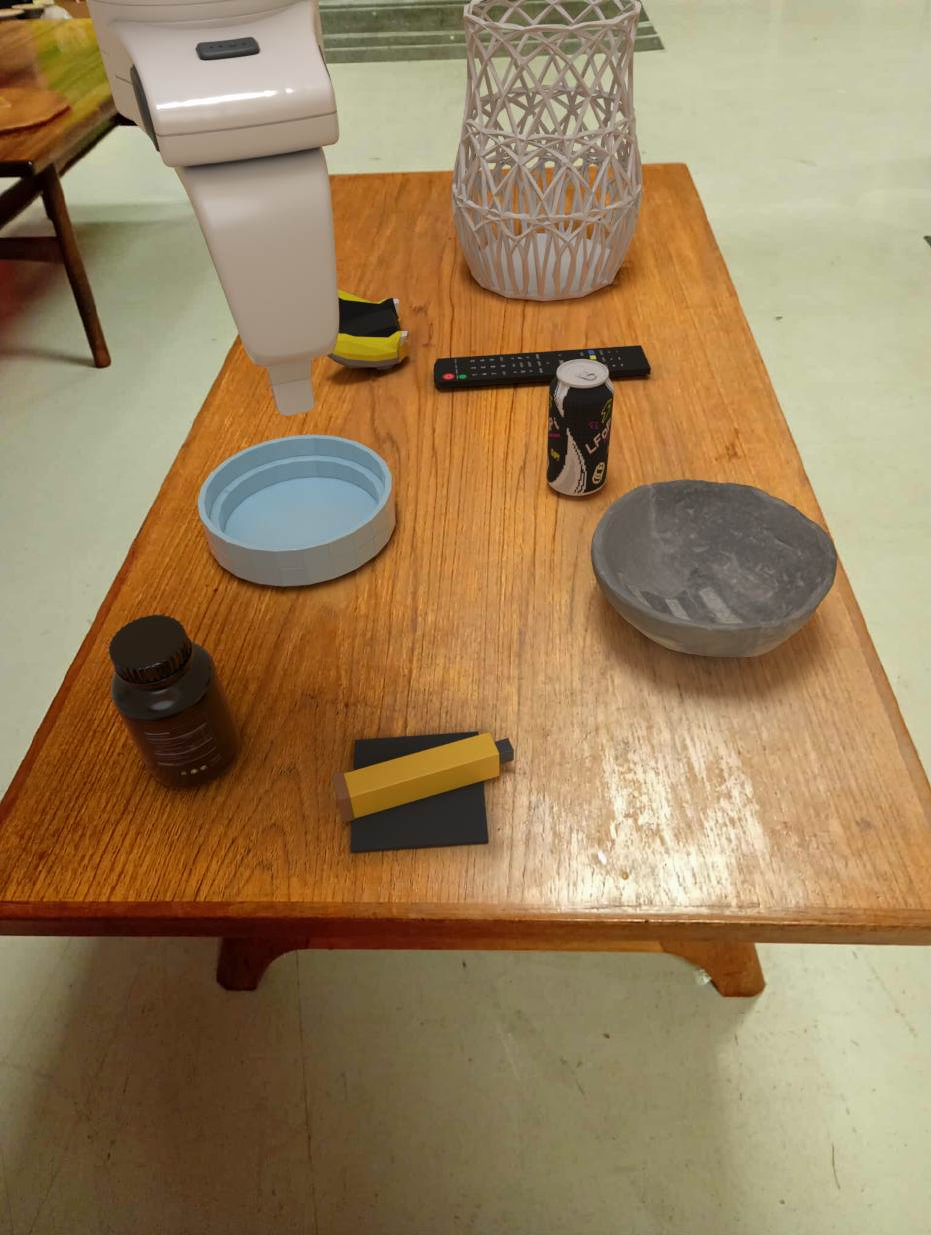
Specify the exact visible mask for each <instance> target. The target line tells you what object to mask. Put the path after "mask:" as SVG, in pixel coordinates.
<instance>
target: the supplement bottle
mask: <svg viewBox="0 0 931 1235" xmlns="http://www.w3.org/2000/svg"><path fill="white" fill-rule="evenodd" d="M108 656H109V658H110V661H111V663H112V665H113V669H114V674H113V676H112V679H111V684H110V696H111V699H112V702H113V705H114V707H115V709H116V711H117V713H118V714H119V717H120V718H121V720H122V722H123V724H124V726H125V728H126V730H127V732H128V734H129V736H130V738H131V740H132V742H133V744H134V746H135V748H136V749H137V752H138V753H139V755H140V757H141V759H142V761H143V763H144V765H145V767H146V768H147V770H148V772H149V774H150V775H151V776H152V777H153V778H154V780H156V781H157V782H158V783H160V784H161V785H163V786H165V787H168V788H172V789H177V790H178V789H179V790H189V789H196V788H201V787H205V786H207V785H209V784H211V783H213V782H214V781H216V780H218V779H219V778H221V777H222V776H223V775H225V773H227V772H228V771H229V770H230V769H231V768H232V766H233V765H234V764H235V762H236V759H237V758H238V757H239V754H240V751H241V745H242V737H241V732H240V729H239V726H238V722H237V719H236V717H235V714H234V711H233V709H232V706H231V703H230V700H229V698H228V695H227V692H226V689H225V687H224V684H223V682H222V678H221V676H220V673H219V670H218V668H217V665H216V662H215V660H214V658H213V657H212V656H211V654H210V653H209V651H208V650H207V649H206V648H204V647H203V646H202V645H200V644H198V643H196V642H194V641H192V640H191V638H190V637H189V636H188V632H187V631H186V629H185V627H184V625H183V624H182V623H181V622H180V621H179V620H177V619H176V618H175V617H171V616H169V615H165V614H153V615H150V614H148V615H145V616H140V617H138V618H136V619H132V621H130V622H128V623H126V624H125V625H124V626H121V627H120V628H119V630H117V631H116V632H115V635H113V636H112V637H111V640H110V642H109V646H108Z"/></svg>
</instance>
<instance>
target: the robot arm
mask: <svg viewBox="0 0 931 1235" xmlns="http://www.w3.org/2000/svg"><path fill="white" fill-rule="evenodd" d="M85 3H86V6H87V10H88V13H89V16H90V17H89V18H90V21H91V25H92V26H93V27H92V28H93V31H94V35H95V38H96V42H97V45H98V49H99V52H100V56H101V60H102V63H103V68H104V70H105V74H106V77H107V80H108V84H109V88H110V91H111V95H112V99H113V103H114V106H115V109H116V110H117V112H118V113H119V114H120V115H121V116H123V117H124V118H125V119H128V120H130V121H133V122H134V123H135V124H136V126H138V128H139V129H140V130H142V132H144V134H146V135H147V137H149V139H150V140H151V142H152V144H153V146H154V148H155V150H156V152H158V153H159V155H160V158H161V161H162V163H163V164H164V165H165V166H166V167H168V168H172V169H173V170H174V172H175V173H176V175H177V177H178V180H179V181H180V182H181V184H182V187H183V188H184V190H185V192H186V195H187V197H188V199H189V202H190V204H191V206H192V209H193V211H194V214H195V217H196V219H197V222H198V224H199V227H200V230H201V232H202V236H203V238H204V241H205V244H206V247H207V250H208V252H209V256H210V258H211V260H212V263H213V266H214V269H215V272H216V275H217V277H218V281H219V283H220V286H221V289H222V291H223V294H224V297H225V301H226V302H227V305H228V308H229V311H230V313H231V317H232V319H233V323H234V325H235V327H236V330H237V332H238V335H239V337H240V341H241V342H242V345H243V347H244V349H245V352H246V354H247V356H248V358H249V359H250V361H251V363H253V364H254V366H256V367H259V368H266V370H267V375H268V380H269V384H270V389H271V394H272V397H273V401H274V405H275V407H276V410H277V412H278V413H279V414H280V415H281V416H284V417H290V416H295V415H300V414H305V413H309V412H311V411H312V410H313V409H314V408H315V404H316V401H315V396H314V388H313V383H312V366H313V365H312V364H313V360H314V359H319V358H323V357H327V355H329V354H331V353H332V352H333V351H334V349H335V346H336V343H337V338H338V334H339V333H338V332H339V300H338V289H339V284H338V267H337V254H336V253H337V252H336V240H335V227H334V226H335V224H334V214H333V200H332V189H331V183H330V175H329V169H328V163H327V158H326V154H325V151H324V149H323V147H329V146H332V145H336V144H337V143H338V141H339V139H340V124H339V114H338V106H337V100H336V93H335V90H334V86H333V82H332V79H331V75H330V71H329V69H328V67H327V59H326V58H327V57H326V52H325V51H326V50H325V43H324V34H323V27H322V19H321V12H320V11H321V10H320V4H319V0H85Z"/></svg>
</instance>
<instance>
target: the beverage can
mask: <svg viewBox="0 0 931 1235" xmlns="http://www.w3.org/2000/svg"><path fill="white" fill-rule="evenodd" d="M608 376H609V372H608V369H607V368H606V366H604V365H603V364H601V363H599V362H597V361H593V360H587V359H577V360H571V361H567V362H565V363H563V364H562V365H560V366H559V367H558V369H557V375H556V376H555V378H554V379H553V380H552V381H550V384H549V388H548V410H547V412H548V413H547V414H548V415H547V441H546V442H547V444H546V445H547V448H546V474H545V476H546V477H545V478H546V481H547V483H548V485H549V486H550V487H551V488H552V489H554V490H555V491H556V492H559V493H560V494H564V495H566V496H572V497H583V496H586V495H591V494H593V493H596V492H597V491H599V490H601V489H602V488H603V487H604V486H605V484H606V481H607V475H608V464H609V454H610V444H611V431H612V421H613V420H612V419H613V411H614V410H613V408H614V400H615V399H614V398H615V386H614V382H613V381H612V379H610V378H611V377H608Z"/></svg>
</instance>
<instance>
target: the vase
mask: <svg viewBox="0 0 931 1235" xmlns="http://www.w3.org/2000/svg"><path fill="white" fill-rule="evenodd" d="M541 1H542V2H544V3H548V4H549V5H548V6H547V7H546V8H544V10H542V11H541V12H540V13H539V14H538V15H537V16H536V17H535V18H533V19H532V18H531V17H530V16H529V15H528V14H527V13H526V12H525V11H523V9H522V8H521V7H520V6H522V5H523V4H524V3H526V2H528V0H515V1H514V2H512V1H510V0H471V1H470V3H468V4H465V5H463V16H462V18H463V25H464V36H465V37H464V38H465V45H466V46H465V47H466V90H465V100H464V109H463V118H462V125H461V132H460V140H459V144H458V147H457V152H456V157H455V162H454V166H453V174H452V184H451V207H452V215H453V221H454V222H453V223H454V230H455V233H456V235H457V238H458V242H459V246H460V248H461V251H462V254H463V257H464V258H465V261H466V264H467V267H468V268H469V270H470V275H471V276H472V277H473V278H474V280H475V281H476V282H477V283H478V285H479V286H480V287H481V288H483V289H486V290H488V291H490V292H492V293H495V294H497V295H500V296H502V297H504V298H507V299H515V300H516V299H517V300H526V301H536V302H552V301H561V300H570V299H579V298H584V297H585V296H587V295H588V296H589V295H590V294H592V293H594V292H597V291H598V290H600V289H602V288H605V287H607V286H609V285H612V283H613V281H614V280H615V277H616V275H617V273H618V271H619V269H620V267H621V266H622V265H623V263H624V261H625V258H626V255H627V253H628V251H629V249H630V246H631V243H632V241H633V239H634V236H635V234H636V232H637V228H638V222H639V217H640V210H641V206H642V201H643V165H642V158H641V153H640V150H639V143H638V142H639V141H638V136H637V132H636V131H637V118H636V114H635V112H636V109H635V107H634V48H635V47H634V46H635V42H636V41H635V40H636V36H637V31H638V27H639V22H640V15H641V14H640V13H641V10H642V3H641V2H640V1H638V0H624V2H627V3H628V4H627V5H626V6H625V7H624V5H623V4H622V2H621V0H612V2H613V3H614V4H615V5H616V7H617V8H619V9H620V12H618V14H617V15H616V16H614V17H613V18H608V19H606V18H605V15H604V14H603V12H602V10H601V8H600V6H602V5H604V4H606V3H608V2H610V1H611V0H594V1H593V0H582V1H583V2H585V3H587V4H588V5H587V7H586V8H585V9H583V11H581V13H580V14H579V15H578V16H577V17H575V19H573V18H572V17H571V16H570V14H569V13H568V12H567V11H566V10H565V9H564V7H563V6H562V3H564V2H566V0H541ZM496 3H497V4H500V5H502V6H504V7H506V8H508V9H507V10H506V11H505V13H504V14H503V15H502V17H501V19H500V20H499V22H498V21H493V19H492V18H491V17H490V16H489V15H488V14H487V12H488V11H489V10H491V8H492V7H493V6H494V5H495V4H496ZM482 4H485V5H484V7H483V9H481V8H480V7H479V5H482ZM553 9H554V10H555V11H557V12H558V13H559V15H560V16H561V17H562V18H563V19H564V20H565V21H566V22H567V23H568V25H566V24H562V23H559V24H558V23H557V24H540V23H541V22H542V21H543V20H544V19H545V18H546V16H548V15H549V14H550V13H551V12H552V10H553ZM632 9H633V10H632ZM630 10H631V11H630ZM592 11H593V12H594V14H595V15H596V16H597V18H598V19H599V20H594V21H586V22H581V21H582V20H583V19H584V18H585V17H586V16H587V15H588V14H590V13H591V12H592ZM473 12H474V13H475V14H477V15H478V16H475V15H473ZM514 12H516V13H517V14H518V15H519V16H520V18H522V19H523V20H524V22H526V24H527V25H528V26H522V25H520V24H516V23H511V22H509V23H508V20H509V19H510V18H511V17H512V16H513V14H514ZM623 23H624V24H623ZM594 28H595V29H597V28H600V29H599V30H598V31H597V32H596V33H595V34H594V35H593V34H591V33H590V32H589V31H586V30H587V29H594ZM613 28H616V29H618V30H620V31H621V32H620V34H618V37H617V38H616V40H615V38H614V34H613V30H612V29H613ZM502 30H505V31H510V32H508V33H506V34H504V33H503V31H502ZM483 31H488V32H489V34H490V35H491V38H490V40H489V44H488V47H487V50H486V48H485V47H484V44H483V43H482V42H481V40H480V38H479V34H480V33H482V32H483ZM544 32H545V33H546V32H549V33H550V32H551V33H553V32H554V33H555V34H554V35H551V36H550V37H548V38H547V37H545V36H544V35H543V33H544ZM557 32H558V33H557ZM571 33H572V34H575V37H576V38H577V40H578V41H579V44H580V46H581V47H580V48H578V49H577V51H576V52H575V53H574V54H573V55H572V56H571V57H569V56H568V55H567V54H565V52H563V51H562V49H561V47H562V45H563V44H564V43H565V42H566V39H567V38H568V37H569V35H571ZM522 35H523V37H522V38H521V39H520V40H521V41H520V42H519V43H518V46H517V48H515V46H514V45H513V44H512V43H511V42H510V41H511V40H513V39H515V38H517V37H519V36H522ZM529 37H531V38H534V39H536V40H538V41H540V44H539V45H538V46H537V47H536V48H535V49H534V50H532V52H531V53H530V54H528V55H527V56H526V57H525V58H524V57H523V56H522V54H520V53H521V51H522V49H523V48H524V46H525V44H526V42H527V40H528V39H529ZM606 37H608V41H609V44H610V50H609V49H608V48H607V47H606V46H605V45H604V44H603V42H604V41H605V39H606ZM624 38H625V40H624V43H623V46H622V49H621V52H620V54H619V51H618V48H619V47H620V45H621V43H622V41H623V39H624ZM555 42H557V43H556V44H555ZM592 45H593V47H592V48H591V50H590V47H591V46H592ZM502 47H504V49H505V50H506V52H507V54H508V55H509V58H510V61H509V62H508V65H507V68H506V70H505V72H504V75H503V78H502V80H501V79H500V77H499V75H498V72H497V70H496V67H495V65H494V63H493V60H492V58H493V57H495V55H497V53H498V52H499V51H500V50H501V49H502ZM599 50H600V51H601V52H602V53H603V55H605V59H604V60H603V62H602V63H601V66H600V67H599V69H598V68H597V64H596V62H595V56H596V54H597V53H598V51H599ZM544 51H546V52H547V54H548V55H549V56H548V58H547V59H546V62H545V64H544V66H543V68H542V70H541V72H540V74H539V76H538V78H537V77H536V75H535V74H534V72H533V71H532V69H531V67H530V66H529V64H530V63H531V62H532V61H534V59H536V58H537V57H538V56H539V55H540V54H541V53H543V52H544ZM583 54H586V56H587V58H586V60H585V63H584V65H583V68H582V69H581V72H579V71H578V69H577V67H576V65H575V64H574V62H575V61H576V60H577V59H578V58H580V57H581V55H583ZM475 55H476V56H477V58H478V61H479V63H480V70H479V71H478V72H479V73H478V72H477V67H476V60H475V57H476V56H475ZM556 56H557V57H558V58H559V59H560V60H561V61H562V62H563V63H564V66H563V67H562V68H561V65H560V63H559V61H558V59H557V57H556ZM613 58H614V61H613ZM614 62H615V63H614ZM552 63H553V66H554V68H555V70H556V73H557V76H556V78H555V80H554V81H553V83H552V84H543V81H544V79H545V77H546V75H547V73H548V71H549V69H550V67H551V64H552ZM590 66H591V69H592V73H593V75H594V79H593V81H592V83H591V85H590V87H589V86H588V85H587V83H586V80H584V78H585V77H586V75H587V72H588V69H589V67H590ZM608 66H609V69H610V71H611V74H612V79H611V80H612V81H611V84H610V87H609V90H608V91H605V89H604V86H603V84H602V80H601V79H602V78H603V76H604V74H605V72H606V70H607V69H608ZM513 67H514V69H515V72H514V74H513V75H512V77H511V79H510V80H509V82H508V78H509V76H510V74H511V72H512V69H513ZM488 68H489V70H488ZM489 71H490V73H491V75H492V78H493V80H494V82H495V85H496V87H497V92H495V93H494V91H493V86H492V83H491V79H490V75H489ZM524 71H525V72H526V73H527V75H528V77H529V78H530V79H531V81H532V83H533V85H534V86H532V87H529V85H528V83H527V80H526V78H525V76H524ZM569 71H570V72H571V74H572V76H573V78H574V79H575V81H576V83H575V85H574V86H571V85H570V86H569V84H568V81H567V79H566V77H565V76H566V74H567V73H568V72H569ZM626 75H627V83H626V80H625V78H626ZM483 79H484V81H485V85H486V89H487V94H484V95H482V96H481V90H480V89H481V86H482V82H483ZM518 81H520V84H521V86H516V87H515V85H516V83H517V82H518ZM507 82H508V83H507ZM506 84H507V85H506ZM615 89H616V91H615ZM510 95H512V96H510ZM537 95H539V96H541V98H540V100H538V101H537V102H535V101H536V98H537ZM565 95H566V98H567V102H565V101H564V100H562V99H561V98H559V97H560V96H565ZM524 96H525V100H526V104H525V103H524V102H522V101H520V98H522V97H524ZM578 96H579V97H581V98H583V99H582V100H581V101H578V102H577V98H578ZM601 99H602V100H603V105H604V106H603V105H602V104H601V103H600V102H599V101H598V100H601ZM551 100H553V101H554V102H555V103H557V104H558V105H559V106H560V107H562V108H564V109H565V110H566V113H565V114H564V115H563V117H562V118H561V119H560V121H559V120H558V118H557V115H556V113H555V110H554V107H553V105H552V102H551ZM576 102H577V103H576ZM511 104H513V105H514V106H516V107H518V108H520V109H521V110H522V111H525V112H524V114H523V115H522V117H521V118H520V119H519V121H518V122H517V123H516V120H515V117H514V114H513V111H512V107H511ZM612 104H613V105H612ZM488 105H489V108H490V110H488V109H487V108H486V107H487V106H488ZM589 105H590V108H591V110H592V112H593V114H594V117H595V119H596V121H597V124H598V127H597V128H596V129H590V130H589V128H588V126H587V125H586V123H585V122H584V118H585V115H586V112H587V109H588V107H589ZM611 108H612V109H611ZM579 109H580V111H579V112H578V110H579ZM503 110H505V111H506V115H507V118H508V122H509V125H510V128H511V131H507V130H505V129H504V128H503V126H502V125H501V123H500V122H499V120H498V117H499V115H500V113H501V112H502V111H503ZM536 110H537V111H536ZM545 110H546V111H547V113H548V115H549V117H550V120H551V122H552V124H553V126H554V128H553V129H552V130H551V131H550V130H549V128H548V127H547V126H546V124H545V123H544V122H543V120H542V117H543V114H544V112H545ZM598 110H599V111H600V113H602V114H603V115H604V117H603V119H602V118H601V115H600V113H599V111H598ZM619 112H620V114H621V115H622V117H623V118H621V119H620V120H618V121H616V119H617V115H618V113H619ZM484 116H485V117H487V120H486V122H485V123H484ZM531 116H532V121H531V123H530V125H529V127H528V129H527V131H526V133H525V134H524V130H525V127H526V124H527V121H528V119H529V117H531ZM572 116H573V118H574V121H575V126H574V128H573V131H572V134H567V133H568V132H567V131H568V129H569V128H568V127H569V124H570V120H571V117H572ZM477 119H478V122H477V121H476V120H477ZM620 127H622V128H621V129H619V128H620ZM473 128H474V129H475V130H474V129H473ZM540 128H541V130H542V131H543V134H542V133H541V132H540V131H541V130H540ZM499 137H500V138H501V137H502V139H503V140H500V138H499ZM585 138H587V139H585ZM600 139H601V140H600ZM489 140H491V141H493V142H494V144H493V145H491V146H490V147H488V148H487V145H488V143H489ZM542 141H545V142H544V144H543V142H542ZM598 141H600V145H598V144H597V142H598ZM613 142H614V143H613ZM575 144H577V145H581V147H580V148H579V149H578V150H574V146H575ZM512 145H514V147H513V146H512ZM529 146H532V147H535V148H536V149H531V150H527V149H528V148H529ZM592 150H593V151H592ZM494 152H495V154H494V155H492V154H493V153H494ZM490 155H491V156H490ZM487 156H488V157H487ZM486 157H487V158H486ZM535 158H538V159H537V160H536V162H535V163H534V164H533V165H532V166H531V167H530V168H528V167H527V165H526V164H528V163H529V162H532V160H534V159H535ZM579 159H582V163H581V165H580V166H578V167H577V168H576V166H575V165H574V164H575V163H576V162H577V161H578V160H579ZM548 162H551V163H554V165H553V172H552V178H551V183H550V184H549V185H547V174H546V173H547V172H546V164H545V163H548ZM489 164H495V165H494V167H493V169H492V171H491V169H490V167H489ZM506 165H507V166H510V170H509V172H507V174H506V176H504V173H503V168H504V167H505V166H506ZM591 165H594V166H595V167H597V170H596V174H595V178H594V182H593V186H592V189H591V187H590V166H591ZM610 169H611V172H612V175H613V177H612V178H611V177H610V176H609V172H610ZM480 171H481V172H480ZM534 172H535V173H534ZM533 173H534V176H533V175H532V174H533ZM540 174H541V181H542V182H541V183H542V190H541V188H540V187H539V185H538V183H539V178H540ZM566 174H567V178H566ZM565 178H566V179H565ZM571 182H572V186H573V191H574V194H573V198H572V205H571V210H570V214H568V215H567V214H565V211H566V191H567V189H568V187H569V186H570V183H571ZM498 183H499V185H498ZM515 184H516V187H517V188H516V189H517V209H518V210H517V211H518V213H516V212H515V213H514V208H513V202H514V201H513V200H514V186H515ZM613 184H614V185H613ZM506 186H507V188H506ZM581 187H583V189H584V200H583V196H582V191H581ZM599 188H600V198H599V200H598V199H597V194H598V189H599ZM472 191H473V193H472ZM488 192H489V193H490V194H491V195H492V196H491V197H492V198H491V199H490V202H488V201H489V200H488ZM524 193H525V194H524ZM472 194H473V195H472ZM608 194H609V200H610V203H609V205H606V197H607V195H608ZM499 195H501V200H502V205H501V202H500V199H499ZM479 199H480V202H481V205H480V204H479ZM538 199H539V202H538ZM616 199H617V202H616ZM525 202H526V203H525ZM526 207H527V211H526ZM542 211H543V213H541V212H542ZM470 213H471V214H470ZM557 213H558V214H557ZM471 216H472V217H471ZM604 217H605V218H604ZM515 219H517V220H520V221H519V222H520V226H521V232H522V233H521V234H519V235H515V224H514V223H515V222H514V220H515ZM505 221H506V223H505ZM567 221H569V222H568V228H567V229H566V230H565V222H567ZM576 221H580V223H579V226H578V227H577V228H575V230H574V231H573V229H574V224H575V223H576ZM493 224H494V225H495V228H496V233H497V234H496V235H497V236H495V234H494V231H493V226H492V225H493ZM528 224H529V225H528ZM556 224H558V229H557V227H556ZM591 224H593V230H592V234H591V237H590V238H588V237H587V236H588V233H587V231H588V230H587V229H588V226H590V225H591ZM506 225H507V226H506ZM610 225H611V226H610ZM542 229H543V230H544V232H543V233H542V232H537V231H540V230H542ZM572 231H573V232H572ZM607 232H608V234H607ZM606 234H607V235H606ZM486 242H487V243H486Z"/></svg>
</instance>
